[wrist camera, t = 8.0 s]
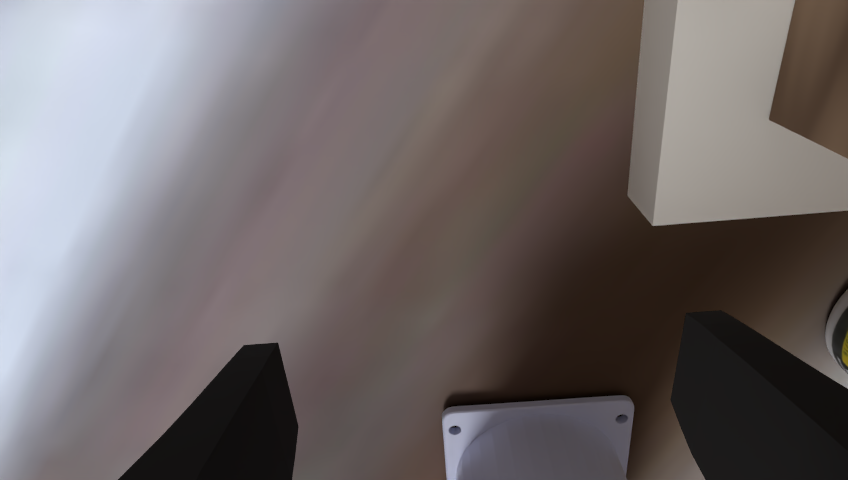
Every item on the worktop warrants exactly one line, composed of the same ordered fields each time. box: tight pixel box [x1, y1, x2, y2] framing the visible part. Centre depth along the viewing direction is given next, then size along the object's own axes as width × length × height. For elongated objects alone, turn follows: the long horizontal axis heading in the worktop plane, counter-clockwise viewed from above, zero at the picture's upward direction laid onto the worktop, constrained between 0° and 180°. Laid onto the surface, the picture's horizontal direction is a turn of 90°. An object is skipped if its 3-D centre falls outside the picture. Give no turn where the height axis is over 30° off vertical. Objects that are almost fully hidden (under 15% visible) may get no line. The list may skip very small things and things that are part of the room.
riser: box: [627, 0, 848, 226], centre depth 17 cm, size 10×10×3 cm
